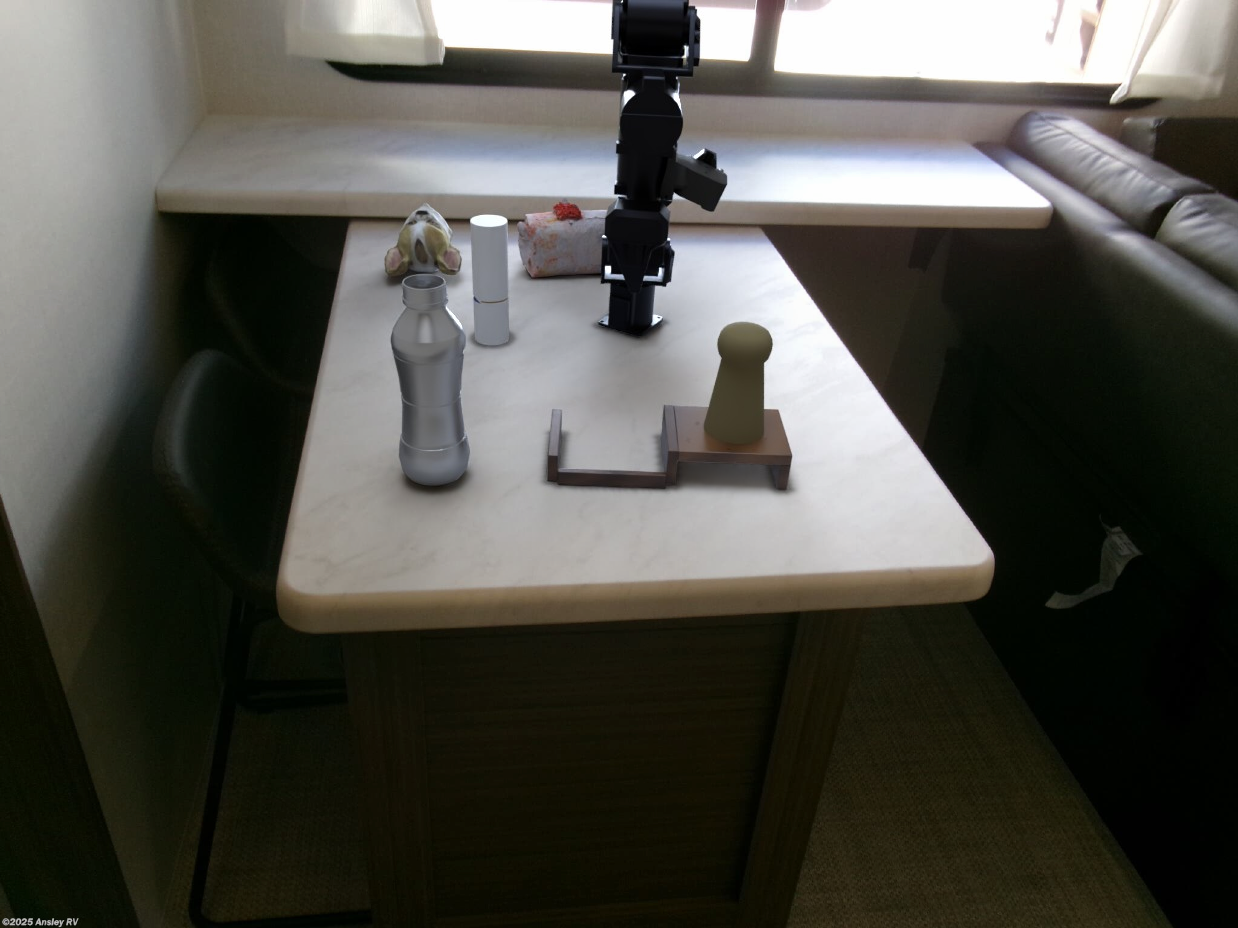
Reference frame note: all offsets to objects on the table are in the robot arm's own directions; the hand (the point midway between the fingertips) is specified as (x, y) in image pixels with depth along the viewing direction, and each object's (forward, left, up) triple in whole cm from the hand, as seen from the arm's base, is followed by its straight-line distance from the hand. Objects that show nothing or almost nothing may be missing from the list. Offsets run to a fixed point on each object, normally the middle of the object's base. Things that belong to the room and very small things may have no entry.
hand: (637, 276), depth 104 cm
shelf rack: (+13, +11, -13) cm, 22 cm away
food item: (-25, -25, -13) cm, 38 cm away
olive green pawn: (+9, +17, -9) cm, 21 cm away
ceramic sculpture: (-13, -41, -13) cm, 45 cm away
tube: (0, -20, -13) cm, 24 cm away
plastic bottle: (+28, -6, -13) cm, 32 cm away
